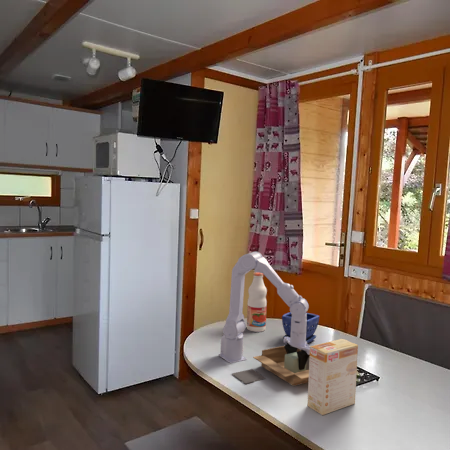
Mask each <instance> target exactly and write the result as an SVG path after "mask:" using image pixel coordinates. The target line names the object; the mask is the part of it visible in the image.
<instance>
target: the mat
mask: <svg viewBox="0 0 450 450" xmlns="http://www.w3.org/2000/svg"><path fill="white" fill-rule="evenodd" d="M231 375H232V376H233V377H235V378H236V379H238V380H239V381H240V382H241V383H243V384H244V385H248V384H252V383H255V382H258V381H262V380H267V377H265V376H264V375H262V374H261V373H259V372H258V371H256V370H255V369H253V368H251V369H247V370H241V371H237V372H231Z"/></svg>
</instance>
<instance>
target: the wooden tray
mask: <svg viewBox="0 0 450 450" xmlns="http://www.w3.org/2000/svg"><path fill="white" fill-rule="evenodd" d="M284 346H285V345H280V346H276V347H272V348H267V349H262V350H261V355H256V356H253V359H254V360H257V361H258V362H260V364H261V367H262V368H264V369H265V370H267V371H269V372H270V373H272V374H274V375H275V376H277V377H278V378H280V379H281V380H283V381H285V382H286V383H288V384H289V385H291V386H293V387H295V386H299V385H302V384H306V383H308V382H309V370H305V371H301V372H297V373H293V372H291V371H290V370H288V369H286V368H284V362H285V354H287V352H286V350H285V348H284ZM298 351H301V350H300V349H297V352H298Z"/></svg>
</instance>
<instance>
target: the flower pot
mask: <svg viewBox="0 0 450 450" xmlns="http://www.w3.org/2000/svg"><path fill="white" fill-rule="evenodd" d="M306 313H307V326H306V342H307V344H309V343H311V342H312V341H314V340H315V339H316V338H317V335H315V333H316V330H317V328H318V325H319V321H320V315H318V314H315V313H309V312H306ZM291 319H292V314H291V312H287V313H284V314H283V315H282V316H281V321H282V328H283V331H284V333H285V335H283V338H284V337H291Z"/></svg>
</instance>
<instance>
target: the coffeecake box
mask: <svg viewBox="0 0 450 450" xmlns="http://www.w3.org/2000/svg"><path fill="white" fill-rule="evenodd" d="M309 346H310V359H309V382H307V383H308V385H307V387H308V388H307V407H308V408H310V409H311V410H313V411H315V412H316V413H318V414H320V416H325V415H328V414H329V413H333V412H335V411H338V410H341V409H344V408H348V407H349V406H352V405H355V404H356V395H357V393H356V392H357V391H356V389H357V375H358V374H357V371H358V369H357V368H358V352H359V344H356V343H354V342H351V341H349V340H347V339H344V338H339V339H335V340H331V341H328V342H323V343H318V344H314V345H309Z"/></svg>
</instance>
